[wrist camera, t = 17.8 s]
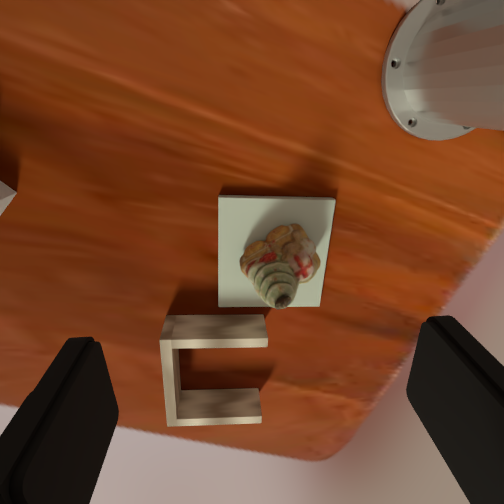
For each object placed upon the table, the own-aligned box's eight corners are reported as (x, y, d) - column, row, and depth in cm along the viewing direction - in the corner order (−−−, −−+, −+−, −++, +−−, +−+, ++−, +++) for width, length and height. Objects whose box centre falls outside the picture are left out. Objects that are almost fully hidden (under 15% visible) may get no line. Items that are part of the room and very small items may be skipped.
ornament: (290, 209, 34) (314, 249, 25) (322, 251, 37) (355, 301, 28) (231, 254, 36) (233, 307, 27) (265, 291, 38) (278, 351, 29)
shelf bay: (263, 314, 41) (267, 338, 37) (257, 394, 46) (261, 423, 42) (166, 315, 40) (159, 340, 36) (172, 397, 45) (167, 426, 41)
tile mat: (332, 197, 35) (335, 200, 34) (317, 301, 41) (319, 306, 40) (218, 194, 34) (218, 197, 33) (218, 302, 39) (218, 307, 39)
